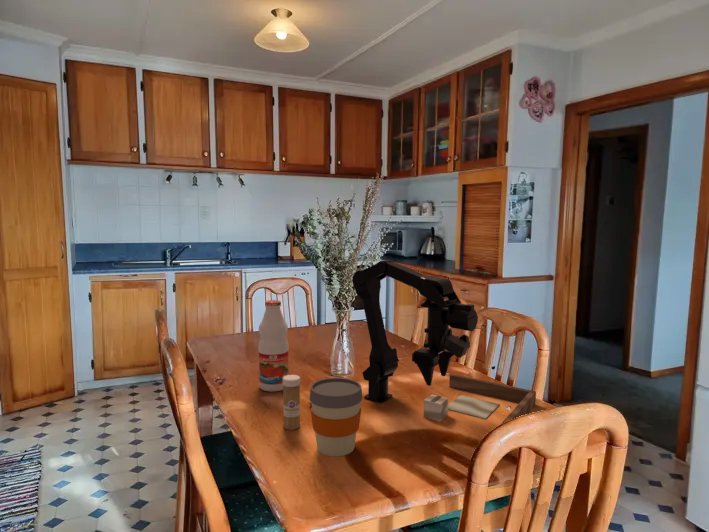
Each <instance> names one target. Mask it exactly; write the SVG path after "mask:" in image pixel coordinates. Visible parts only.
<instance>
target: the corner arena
mask: <svg viewBox="0 0 709 532" xmlns="http://www.w3.org/2000/svg"><path fill="white" fill-rule="evenodd" d="M448 382H449V385H448V386H449V387H448V388H453V389H457V390H461V391H465V392H469V393H474V394H477V395H484V396H488V397H493V398H496V399H501V400H506V401H510V402H514V403H518V404H517V405H516V406H515V407H514V408H513V409H512V411H511V412H510V413H509V414H508V415H507V416H506V417H505V419H504V420H503V421H502V422H501V423H500V425H501V424H502V423H504V422H506V421H508V420H511V419H514V418H516V417H519V416H521V415H525V414H527V413H528V414H529V413H530V412H531V411H532V409H533V408H534V407H535V405H536V397H537V391H536V390H530V389H525V388H522V387H517V386H512V385H507V384H502V383H498V382H492V381H487V380H483V379H478V378H473V377H468V376H463V375H459V374H456V373H455V374H454V373H451V374H449V381H448ZM499 406H500V403H496V402H493V401H488V400H485V399H480V398H477V397H476V398H475V397H472V396H468V395H463V394H460V395H459V396H458V397H456V398H455V399H454V400H452V401H451V402H450V403H448V411H453V412H456V413H461V414H463V415H468V416H471V417H475V418H479V419H481V420H482V419H483V420H486V419H488V418H489V416H491V414H492V413H493V412H494V411H495V410H496V409H498V407H499ZM528 414H527V415H528Z"/></svg>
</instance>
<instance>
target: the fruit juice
mask: <svg viewBox="0 0 709 532" xmlns="http://www.w3.org/2000/svg"><path fill="white" fill-rule="evenodd" d="M281 304H282V301H281V300H277V299H270V300H269V299H268V300H265V302H264V305H265V310H264V314H263V316H262V320H261V322H260V324H259V325H258V334H259V338H260V340H259V342H258V384H259V385H258V386H259V389H260V390H262V391H265V392H272V393H273V392H281V391H283V377H284V376H286V375H290V374H289V370H290V369H289V368H290V367H289V366H290V365H289V364H290V362H289V361H290V360H289V356H290V354H289V351H290V350H289V341H288V337H287V336H288V331H289V328H288V327H289V326H288V324H287V322H286V320H285V318H284V316H283V313H282V310H281V306H282V305H281Z"/></svg>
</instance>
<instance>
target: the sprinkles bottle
mask: <svg viewBox="0 0 709 532" xmlns="http://www.w3.org/2000/svg"><path fill="white" fill-rule="evenodd" d="M300 386H301V377H300V375H297V374H289V375H286V376H284V377H283V390H282V391H283V393H282V395H283V396H282V410H283V411H282V414H283V416H282V417H283V424H282V428H284V429H286V430H290V431H291V430H293V431H294V430H298V429H299V428H300V427H301V394H300V393H301V389H300Z"/></svg>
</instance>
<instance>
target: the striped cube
mask: <svg viewBox="0 0 709 532" xmlns="http://www.w3.org/2000/svg"><path fill="white" fill-rule="evenodd" d="M448 405H449V398H448V397H445V396H441V395H437V394H436V395H435V394H430V395H429V396H427V397H426V398H424V399H423V418H425V419H429V420H433V421H436V422H442V420H444V419H446V417H448V416H449V410H448Z"/></svg>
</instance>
